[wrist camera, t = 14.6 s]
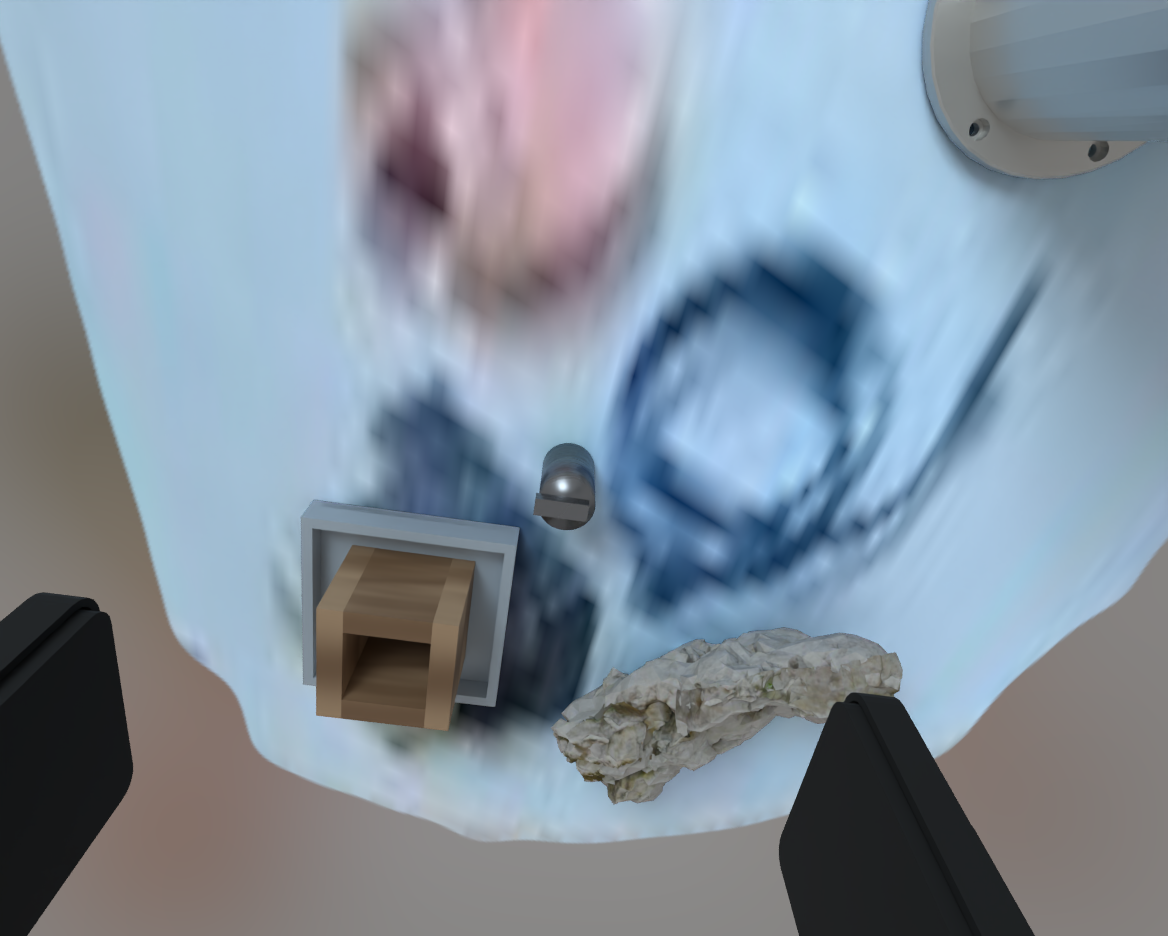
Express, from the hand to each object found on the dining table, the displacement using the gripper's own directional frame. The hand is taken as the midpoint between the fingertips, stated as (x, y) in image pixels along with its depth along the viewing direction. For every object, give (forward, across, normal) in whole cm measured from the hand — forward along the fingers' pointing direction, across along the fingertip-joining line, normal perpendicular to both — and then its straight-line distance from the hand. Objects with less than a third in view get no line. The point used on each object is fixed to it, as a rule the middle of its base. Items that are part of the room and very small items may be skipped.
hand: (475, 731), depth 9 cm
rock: (+29, -13, +21) cm, 38 cm away
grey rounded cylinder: (+28, -2, +9) cm, 30 cm away
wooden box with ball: (+28, +6, +19) cm, 34 cm away
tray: (+28, +6, +19) cm, 35 cm away
